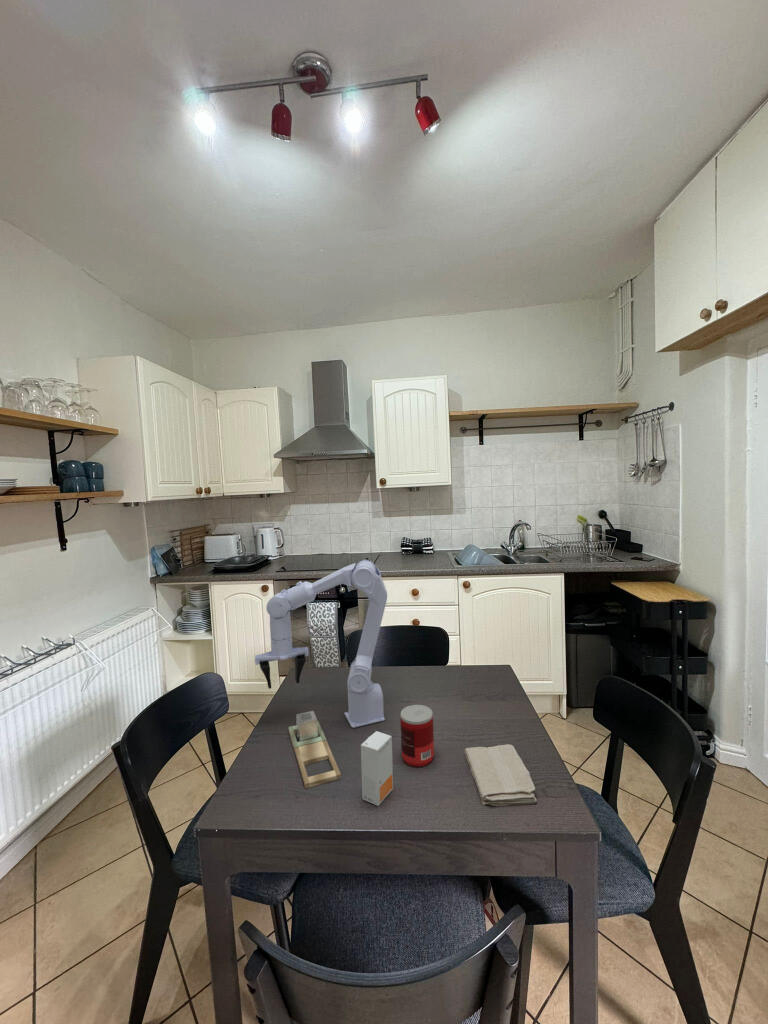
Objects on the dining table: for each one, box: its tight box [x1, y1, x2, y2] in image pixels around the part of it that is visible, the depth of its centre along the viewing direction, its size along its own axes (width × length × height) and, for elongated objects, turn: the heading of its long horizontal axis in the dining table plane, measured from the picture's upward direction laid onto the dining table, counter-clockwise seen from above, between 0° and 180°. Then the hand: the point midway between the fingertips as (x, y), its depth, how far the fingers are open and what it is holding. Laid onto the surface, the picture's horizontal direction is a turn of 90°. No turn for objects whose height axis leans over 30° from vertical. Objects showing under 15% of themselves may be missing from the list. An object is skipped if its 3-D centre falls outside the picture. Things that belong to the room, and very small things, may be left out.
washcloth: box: [463, 743, 538, 807], centre depth 96 cm, size 12×18×3 cm, turn 3°
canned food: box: [399, 704, 435, 768], centre depth 104 cm, size 8×8×11 cm
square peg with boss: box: [295, 710, 319, 742], centre depth 113 cm, size 4×4×6 cm
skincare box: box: [360, 730, 394, 807], centre depth 92 cm, size 6×4×12 cm
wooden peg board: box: [288, 720, 342, 789], centre depth 107 cm, size 8×24×1 cm, turn 21°
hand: (283, 684), depth 122 cm, fingers open, 7 cm apart
